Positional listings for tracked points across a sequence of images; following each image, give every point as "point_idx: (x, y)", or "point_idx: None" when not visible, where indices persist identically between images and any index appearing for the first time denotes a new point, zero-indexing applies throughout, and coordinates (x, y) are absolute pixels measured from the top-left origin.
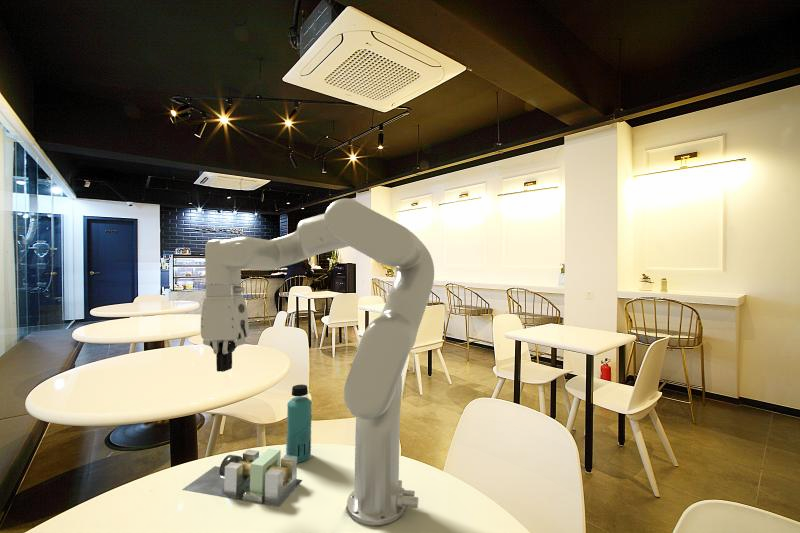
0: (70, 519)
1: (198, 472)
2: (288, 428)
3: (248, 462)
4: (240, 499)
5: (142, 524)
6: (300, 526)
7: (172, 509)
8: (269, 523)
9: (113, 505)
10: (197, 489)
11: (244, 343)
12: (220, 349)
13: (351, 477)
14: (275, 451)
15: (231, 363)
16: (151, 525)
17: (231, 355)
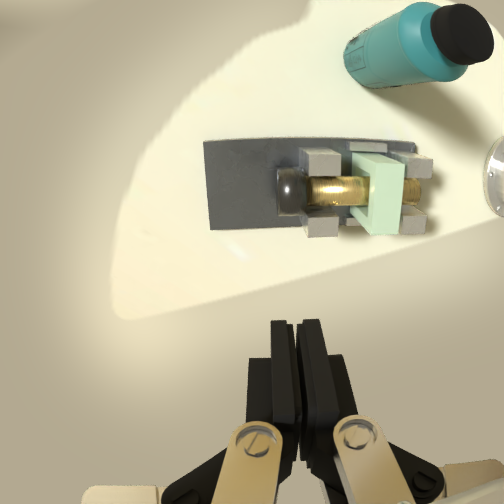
0: (117, 311)
1: (175, 156)
2: (386, 74)
3: (336, 191)
4: (339, 224)
5: (219, 295)
6: (439, 236)
7: (231, 259)
8: (400, 243)
9: (134, 277)
10: (238, 221)
11: (494, 467)
12: (278, 481)
13: (472, 105)
14: (396, 172)
15: (343, 366)
16: (234, 293)
17: (355, 410)
